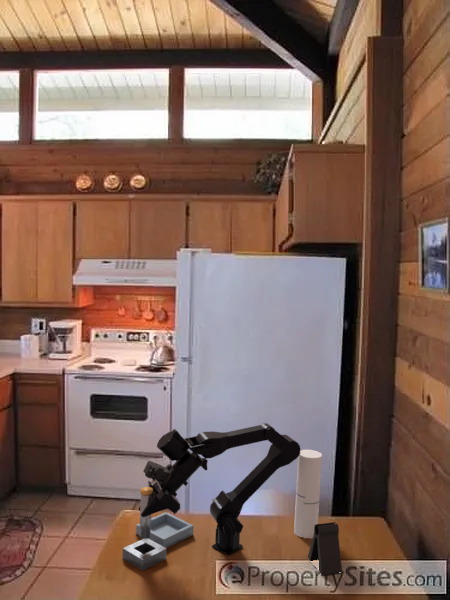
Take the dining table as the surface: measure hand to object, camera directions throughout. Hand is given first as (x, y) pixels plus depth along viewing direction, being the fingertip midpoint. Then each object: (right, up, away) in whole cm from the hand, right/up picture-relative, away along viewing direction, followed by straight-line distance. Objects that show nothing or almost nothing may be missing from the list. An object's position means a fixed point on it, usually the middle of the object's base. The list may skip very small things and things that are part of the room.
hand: (140, 513), depth 153 cm
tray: (+5, -12, +15) cm, 20 cm away
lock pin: (+1, -7, +1) cm, 7 cm away
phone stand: (+50, -15, +2) cm, 53 cm away
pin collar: (+1, -13, +2) cm, 13 cm away
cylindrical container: (+48, -14, +20) cm, 54 cm away
